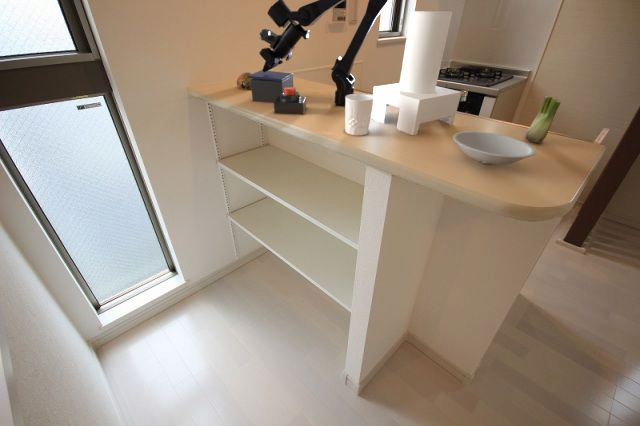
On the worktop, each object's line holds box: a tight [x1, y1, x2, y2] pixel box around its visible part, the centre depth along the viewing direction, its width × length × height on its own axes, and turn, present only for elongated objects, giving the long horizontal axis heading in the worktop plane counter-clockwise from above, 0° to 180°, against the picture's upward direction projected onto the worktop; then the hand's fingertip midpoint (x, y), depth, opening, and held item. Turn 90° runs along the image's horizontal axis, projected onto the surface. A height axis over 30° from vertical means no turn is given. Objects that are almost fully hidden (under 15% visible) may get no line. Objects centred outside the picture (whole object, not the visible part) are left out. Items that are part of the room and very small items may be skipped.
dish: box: [452, 130, 536, 165], centre depth 71 cm, size 18×14×5 cm
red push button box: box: [273, 91, 307, 115], centre depth 105 cm, size 10×8×6 cm
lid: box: [248, 69, 294, 82], centre depth 115 cm, size 13×13×1 cm
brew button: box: [284, 86, 297, 95], centre depth 102 cm, size 4×4×2 cm
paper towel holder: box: [370, 10, 462, 136], centre depth 90 cm, size 19×19×30 cm
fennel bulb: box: [524, 95, 561, 144], centre depth 81 cm, size 6×5×12 cm
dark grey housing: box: [250, 75, 294, 104], centre depth 118 cm, size 13×13×8 cm
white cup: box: [344, 93, 374, 137], centre depth 87 cm, size 8×8×10 cm
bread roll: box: [236, 71, 253, 91], centre depth 135 cm, size 10×10×8 cm
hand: (263, 71), depth 115 cm, fingers closed
